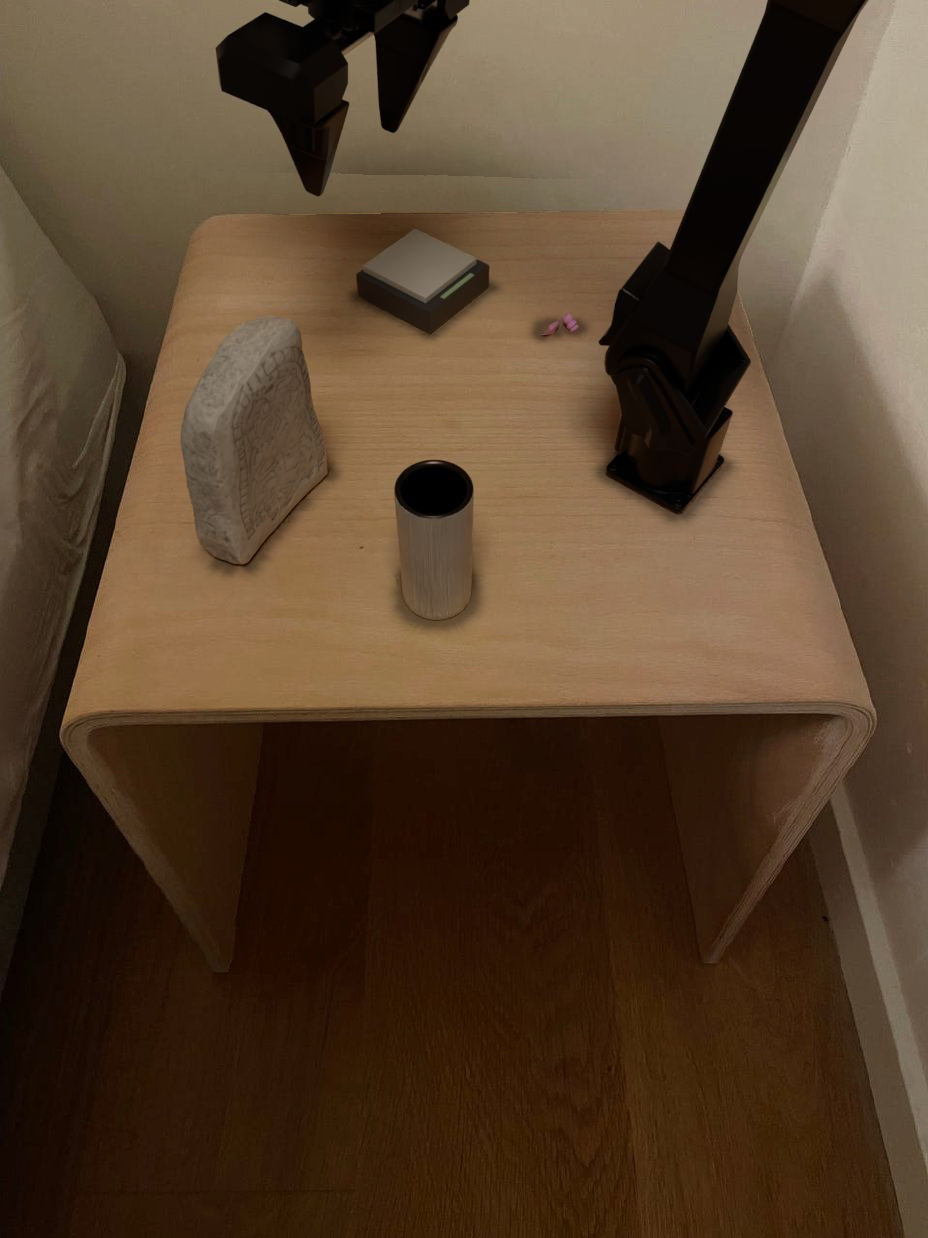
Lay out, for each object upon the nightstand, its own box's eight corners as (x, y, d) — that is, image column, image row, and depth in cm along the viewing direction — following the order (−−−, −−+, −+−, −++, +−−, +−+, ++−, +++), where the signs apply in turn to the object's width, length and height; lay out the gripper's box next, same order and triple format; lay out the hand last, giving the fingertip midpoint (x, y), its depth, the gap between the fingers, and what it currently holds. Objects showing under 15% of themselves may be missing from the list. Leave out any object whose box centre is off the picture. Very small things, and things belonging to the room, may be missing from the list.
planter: (470, 622, 59) (473, 518, 50) (400, 620, 59) (391, 517, 50) (471, 566, 61) (474, 459, 53) (404, 564, 61) (396, 457, 53)
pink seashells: (548, 350, 76) (555, 351, 74) (537, 334, 75) (544, 335, 74) (576, 327, 76) (583, 328, 74) (566, 311, 75) (573, 312, 74)
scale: (488, 287, 78) (489, 258, 76) (430, 334, 74) (429, 305, 72) (417, 252, 81) (416, 223, 78) (357, 296, 77) (354, 267, 75)
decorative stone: (256, 581, 60) (204, 414, 48) (183, 548, 62) (115, 378, 49) (342, 474, 66) (315, 299, 53) (273, 447, 67) (232, 270, 55)
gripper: (322, -219, 53) (327, 62, 66) (105, -127, 43) (162, 181, 56) (490, -162, 51) (461, 116, 64) (302, -52, 41) (313, 249, 54)
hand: (353, 160), depth 60 cm, fingers open, 9 cm apart
